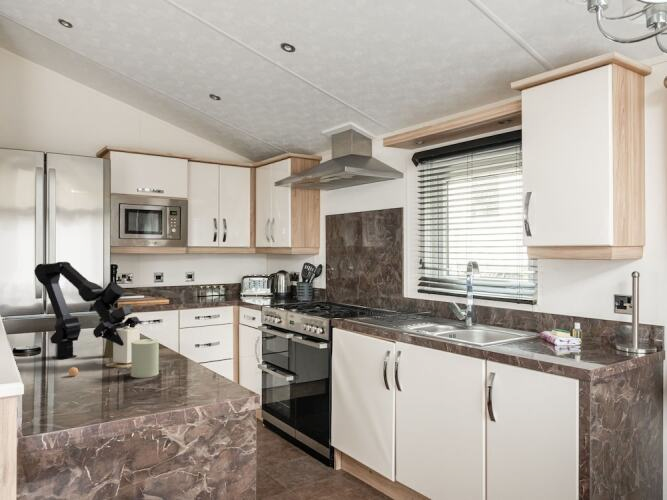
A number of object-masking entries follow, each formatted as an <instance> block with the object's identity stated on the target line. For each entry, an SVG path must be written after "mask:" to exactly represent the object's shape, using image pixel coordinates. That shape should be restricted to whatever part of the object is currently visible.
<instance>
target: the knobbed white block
mask: <svg viewBox="0 0 667 500" xmlns="http://www.w3.org/2000/svg"><path fill="white" fill-rule="evenodd" d="M116 331H117V333H118V335H119V336H120V338H121V340H122V341H123V343H124V345H123V346H120V345H118V344H116V343H114V342H113V358H112V363H113V362H120V363H130V362H131V342H132V341H135V340H141V337H140V336H141V329H140V327H134V328H131V327H130V326H124V328H119V329H116Z"/></svg>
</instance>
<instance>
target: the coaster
mask: <svg viewBox="0 0 667 500" xmlns="http://www.w3.org/2000/svg"><path fill="white" fill-rule="evenodd" d="M105 367H111V368H119V369H130V368H131V362H130V363H120V362H113V361H112V362H110V363H106V364H105Z"/></svg>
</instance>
